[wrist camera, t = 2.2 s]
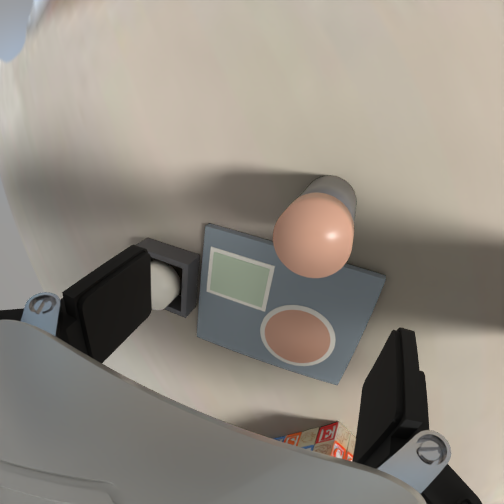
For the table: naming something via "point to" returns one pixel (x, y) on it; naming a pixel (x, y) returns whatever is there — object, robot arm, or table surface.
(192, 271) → the button housing
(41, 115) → the table surface
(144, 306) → the robot arm
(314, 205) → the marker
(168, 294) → the button
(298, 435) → the stack of blocks
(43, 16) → the table surface
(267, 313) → the picture board
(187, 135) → the table surface
